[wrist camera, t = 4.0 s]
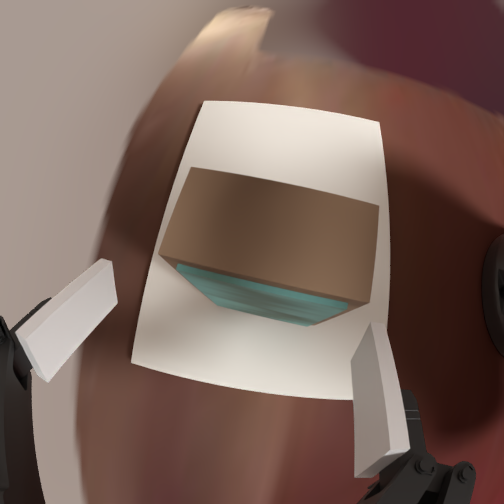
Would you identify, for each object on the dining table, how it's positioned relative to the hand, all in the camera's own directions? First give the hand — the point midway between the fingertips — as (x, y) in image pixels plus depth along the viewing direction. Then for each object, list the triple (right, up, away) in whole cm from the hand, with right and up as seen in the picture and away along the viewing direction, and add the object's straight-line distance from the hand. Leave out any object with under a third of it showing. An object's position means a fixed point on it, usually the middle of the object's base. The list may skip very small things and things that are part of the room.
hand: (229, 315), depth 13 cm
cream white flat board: (+3, +6, +11) cm, 13 cm away
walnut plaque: (+2, 0, +9) cm, 9 cm away
